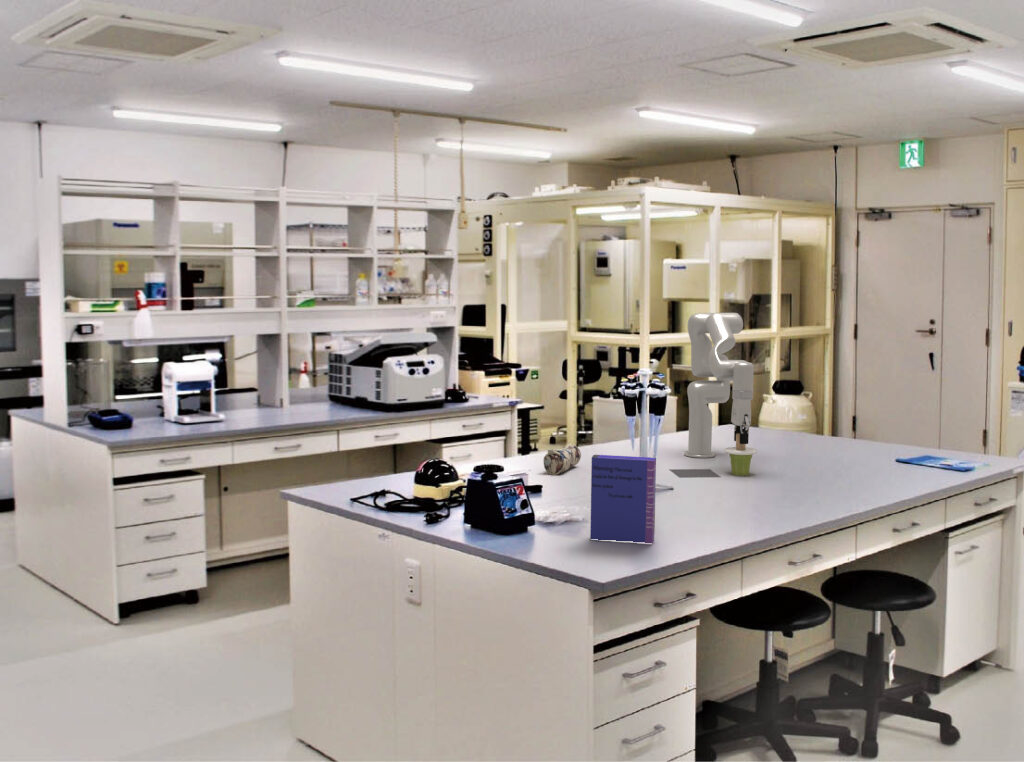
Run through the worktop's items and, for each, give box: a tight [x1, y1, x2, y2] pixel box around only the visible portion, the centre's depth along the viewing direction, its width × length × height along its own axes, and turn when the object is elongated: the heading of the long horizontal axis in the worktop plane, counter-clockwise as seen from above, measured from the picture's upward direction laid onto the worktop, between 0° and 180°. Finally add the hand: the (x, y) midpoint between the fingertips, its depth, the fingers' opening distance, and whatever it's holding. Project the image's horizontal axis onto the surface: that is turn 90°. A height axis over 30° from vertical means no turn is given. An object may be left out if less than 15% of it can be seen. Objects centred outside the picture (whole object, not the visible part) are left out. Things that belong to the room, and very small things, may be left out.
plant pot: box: [728, 454, 754, 477], centre depth 387 cm, size 9×9×9 cm
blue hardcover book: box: [589, 454, 657, 544], centre depth 288 cm, size 17×5×24 cm, turn 75°
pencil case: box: [543, 443, 582, 476], centre depth 394 cm, size 22×8×10 cm, turn 158°
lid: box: [723, 433, 758, 456], centre depth 387 cm, size 12×12×7 cm
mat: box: [668, 468, 722, 479], centre depth 388 cm, size 16×16×1 cm
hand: (741, 442), depth 387 cm, fingers open, 6 cm apart
